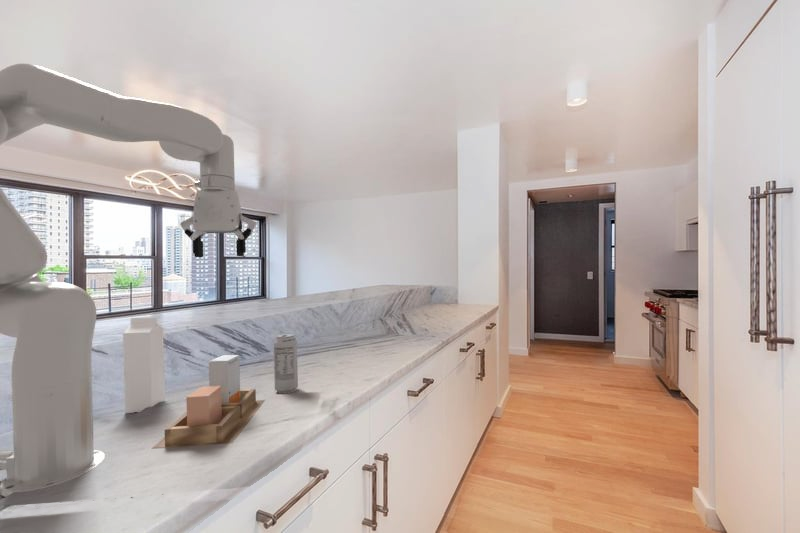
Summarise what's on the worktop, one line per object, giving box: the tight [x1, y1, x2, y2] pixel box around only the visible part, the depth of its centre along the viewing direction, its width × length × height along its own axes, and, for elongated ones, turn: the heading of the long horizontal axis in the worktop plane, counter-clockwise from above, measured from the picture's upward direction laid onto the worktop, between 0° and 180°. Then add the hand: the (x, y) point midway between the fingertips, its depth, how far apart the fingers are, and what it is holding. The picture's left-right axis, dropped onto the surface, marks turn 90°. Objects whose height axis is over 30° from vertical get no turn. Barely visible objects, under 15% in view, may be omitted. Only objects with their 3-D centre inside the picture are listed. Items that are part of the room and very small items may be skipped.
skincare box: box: [208, 354, 241, 404], centre depth 83 cm, size 6×4×12 cm
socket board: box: [152, 388, 266, 449], centre depth 78 cm, size 14×22×4 cm, turn 5°
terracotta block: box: [185, 386, 222, 426], centre depth 73 cm, size 4×6×8 cm, turn 5°
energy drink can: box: [273, 333, 299, 395], centre depth 100 cm, size 6×6×15 cm
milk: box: [122, 316, 166, 414], centre depth 90 cm, size 6×6×22 cm
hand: (219, 256), depth 90 cm, fingers open, 9 cm apart
